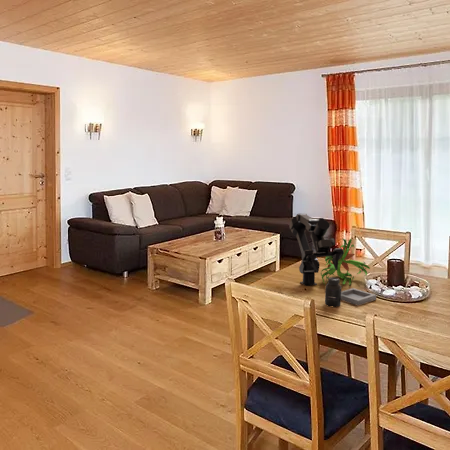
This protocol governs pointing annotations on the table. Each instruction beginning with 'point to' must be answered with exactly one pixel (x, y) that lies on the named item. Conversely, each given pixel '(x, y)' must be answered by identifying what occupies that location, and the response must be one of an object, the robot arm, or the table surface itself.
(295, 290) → the table surface
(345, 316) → the table surface
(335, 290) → the supplement bottle
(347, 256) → the decorative plant
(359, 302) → the tray
